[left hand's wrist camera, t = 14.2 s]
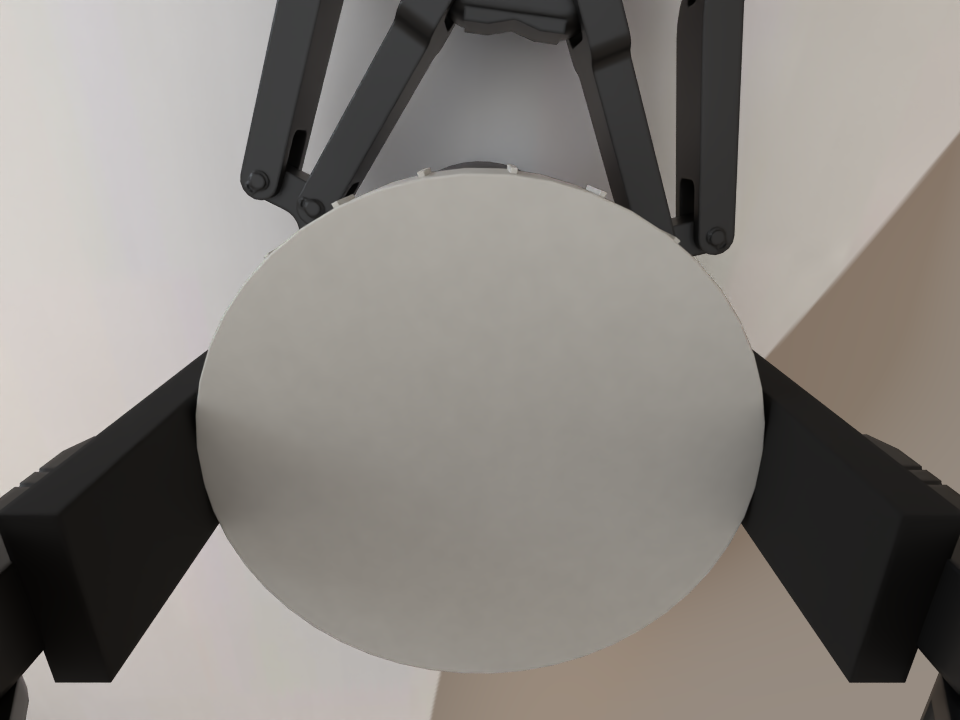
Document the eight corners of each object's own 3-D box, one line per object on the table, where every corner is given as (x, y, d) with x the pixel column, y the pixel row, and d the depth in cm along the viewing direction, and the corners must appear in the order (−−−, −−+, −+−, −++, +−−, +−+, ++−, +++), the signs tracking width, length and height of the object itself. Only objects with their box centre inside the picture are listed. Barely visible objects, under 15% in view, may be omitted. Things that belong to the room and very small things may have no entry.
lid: (314, 638, 14) (292, 705, 12) (155, 221, 10) (93, 235, 9) (731, 578, 13) (768, 641, 12) (717, 111, 10) (767, 105, 8)
